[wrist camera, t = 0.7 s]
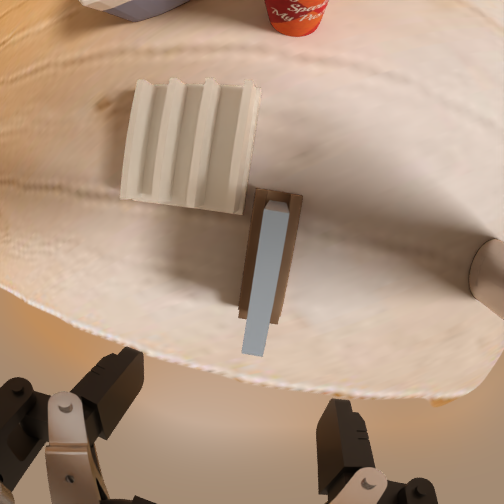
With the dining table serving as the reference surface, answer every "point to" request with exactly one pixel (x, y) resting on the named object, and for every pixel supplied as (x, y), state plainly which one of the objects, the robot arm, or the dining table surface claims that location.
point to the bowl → (133, 7)
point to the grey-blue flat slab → (265, 276)
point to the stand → (253, 241)
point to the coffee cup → (295, 15)
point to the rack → (190, 144)
